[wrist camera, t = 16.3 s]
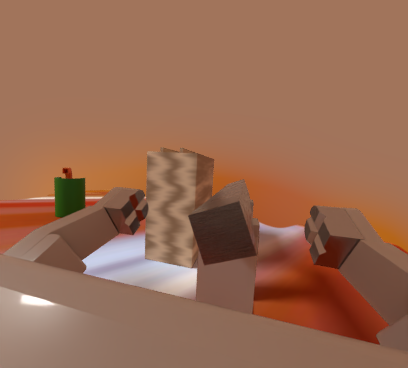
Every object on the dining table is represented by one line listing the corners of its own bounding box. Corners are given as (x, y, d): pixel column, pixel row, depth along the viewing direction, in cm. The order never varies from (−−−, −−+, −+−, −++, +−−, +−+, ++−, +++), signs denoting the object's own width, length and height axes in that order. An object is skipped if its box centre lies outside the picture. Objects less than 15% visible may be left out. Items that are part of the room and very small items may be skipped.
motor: (86, 211, 78) (86, 168, 76) (83, 216, 70) (82, 168, 68) (58, 212, 73) (57, 166, 71) (51, 218, 65) (50, 167, 64)
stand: (144, 258, 41) (147, 147, 38) (177, 230, 60) (180, 154, 58) (191, 268, 38) (197, 148, 36) (209, 235, 58) (214, 156, 55)
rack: (185, 374, 19) (193, 219, 17) (212, 281, 34) (218, 196, 32) (250, 397, 17) (266, 229, 15) (248, 289, 32) (255, 199, 31)
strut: (204, 265, 11) (187, 215, 11) (233, 199, 36) (228, 184, 36) (256, 255, 10) (239, 201, 10) (249, 194, 35) (244, 179, 35)
